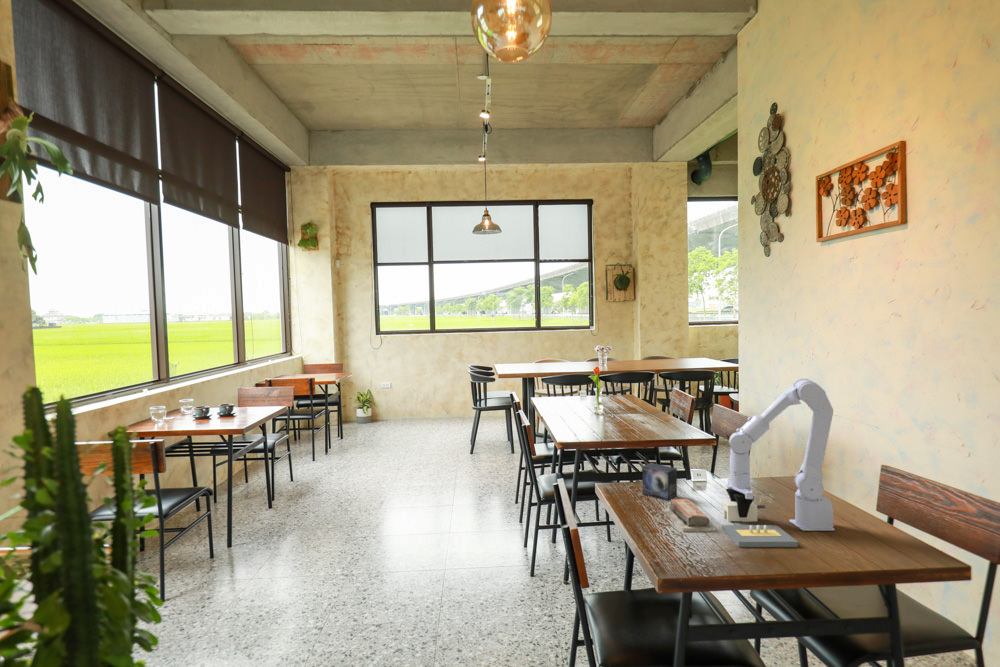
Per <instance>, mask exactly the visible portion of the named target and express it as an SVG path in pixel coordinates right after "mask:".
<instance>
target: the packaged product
mask: <svg viewBox="0 0 1000 667" xmlns="http://www.w3.org/2000/svg"><path fill="white" fill-rule="evenodd" d="M669 503H670V504H669V507H665V508H664V510H665V511H666V512H665V511H664V512H665V513H666V514H667V515H668V516H669V518H670V519H671V520H672V521H673V522H674V523H675V525H676V526H677V528H679V529H680V530H681V531H682V532H684V533H689V532H690V533H693V532H694V533H697V532H698V533H700V532H701V533H702V532H703V533H705V532H710V531H713V532H716V531H717V528H715V526H714V525H713V524H711V523H710V518H709V517H708V516H707V515H706V514H705V513H704V512H703V511H702V510H701V509H700V508H699V507H698V506H697V505H696V504H694V502H693V501H692V500H690V499H687V498H674V499H672V500H670V501H669Z"/></svg>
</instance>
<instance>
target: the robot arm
mask: <svg viewBox="0 0 1000 667" xmlns="http://www.w3.org/2000/svg"><path fill="white" fill-rule="evenodd" d="M801 401H803V403H805V404H806V405H807V406H808V408H809V409H810V410H811V411H812V418H811V422H810V428H809V432H808V438H807V443H806V447H805V451H804V452H805V453H804V457H803V462H802V463H801V465H800V468H799V472H797V473H796V475H795V476H794V478H793V479H794V484H795V486H796V487H797V490H796V491H795V493H794V498H795V499H794V511H795V512H794V515H795V518H794V519H790V518H789V520H788V521H789V522H790V523H791V524H793V525H794V526H795V527H797V528H798V529H799V530H801V531H805V532H806V531H807V532H808V531H809V532H810V531H813V532H814V531H821V532H822V531H823V532H824V531H826V532H827V531H830V532H831V531H835V530H836V529H835V528H834V507H833V506H834V505H833V503H832V501H831V499H830V498H829V497H828V496H823V495H824V491H825V489H824V485H823V475H824V474H823V464H824V459H825V454H826V450H827V445H828V440H829V435H830V430H831V425H832V420H833V417H834V416H833V415H834V408H833V406H832V404H831V402H830V399H829V398H828V396H827V392H826V391H825V389H823V388H822V386H820V385H819V384H818V383H817V382H814V381H813V380H810V379H809V378H799V379H797V380H796V381H795V382H794V383H793V384H791V385H790V386H788V387H787V388H786V389H785V390H784V391H783V392H782V393H781V394H780V395H779V396H778V397H777V398H776V399H775V400H774V401H773V402H772V403H771V404H770V405H769V406H768V407H767V408H766V409H765V410H764V411H763V412H762V413H761V414H754V415H753V416H752V417H751V416H748V418H746V419H747V421H746V422H745V423H744V424H743V425H742V426H741V427H740V428H739V427H738V428H736V429H735V431H736V432H733V433H732V434H731V435H730V437H729V439H728V445H729V446H730V451H729V478H727V484H726V485H725V487H726V489H725V490H726V492H727V495H728V497H729V499H730V501H736V502H737V507H738V514H739V517H740V518H747V515H748V511H749V508H750V505H751V503H752V502H754V501H755V496H754V492H753V491H752V486H751V479H750V478H751V471H750V470H751V469H750V468H751V466H750V465H751V464H750V461H751V460H750V456H749V455H750V453H749V452H750V450H751V449H752V444H753V443H756V442H757V441H758V440H759V439H760V438H761V437H762V436H763V435H764V434H765V433H767V431H769V430H770V423H771V422H772V421H773V420H774V419H775V418H777V417H778V416H779V415H780V414H781V413H782V412H784V410H786V409H787V408H789V407H790V406H795V405H801V404H802V403H801Z"/></svg>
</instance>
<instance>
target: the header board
mask: <svg viewBox="0 0 1000 667" xmlns="http://www.w3.org/2000/svg"><path fill="white" fill-rule="evenodd" d="M722 530H723V531H724V532H725V533H726V534H727V535H728V536H729V537H730V538H729V537H728V536H727V535H726V534H725V533H724V532H723V531H722ZM721 531H722V532H723V533H724V534H725V535H726V536H727V537H728V538H729V539H730V540H731V541H732V542H733V543H734V544H735V545H736V546H737V548H798V547H799V541H798V540H797V539H796V538H794V537H792V535H790V534H789V533H788V532H786V531H785V530H783V528H781V527H780V526H778V525H777V524H752V525H751V524H745V525H743V524H737V525H734V524H732V525H731V524H723V525H721Z"/></svg>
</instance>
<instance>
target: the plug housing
mask: <svg viewBox="0 0 1000 667" xmlns="http://www.w3.org/2000/svg"><path fill="white" fill-rule="evenodd" d="M722 507H723V508H722V511H723V512H722V514H723V516H722V517H723V518H724V519H726V521H727V522H728V521H742V522H758V509H766V506H765V504H762V505H761V504H759V505H758V504H756V503H755V502H754V501H752V503H751V505H750V508H749V511H748V515H747V518H740V517H739V514H738V507H737V502H736V501H731V500H730V501H727V500H726V501H723V502H722Z"/></svg>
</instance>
